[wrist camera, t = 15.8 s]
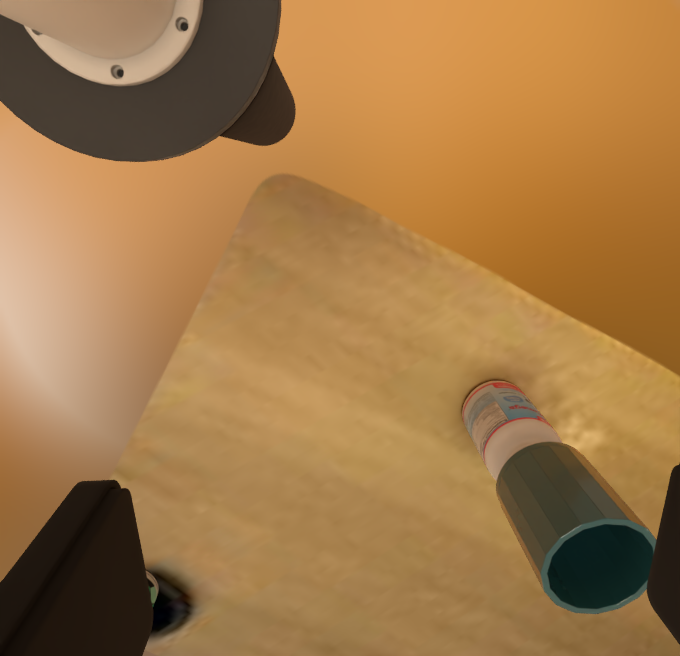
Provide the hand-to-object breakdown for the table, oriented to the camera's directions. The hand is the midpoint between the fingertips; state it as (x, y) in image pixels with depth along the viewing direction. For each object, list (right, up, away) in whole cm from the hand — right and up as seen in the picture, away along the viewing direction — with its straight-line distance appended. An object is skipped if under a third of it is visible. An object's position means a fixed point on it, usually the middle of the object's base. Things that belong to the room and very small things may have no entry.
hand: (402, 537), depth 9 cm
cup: (+14, -8, +27) cm, 31 cm away
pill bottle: (+13, -4, +38) cm, 40 cm away
